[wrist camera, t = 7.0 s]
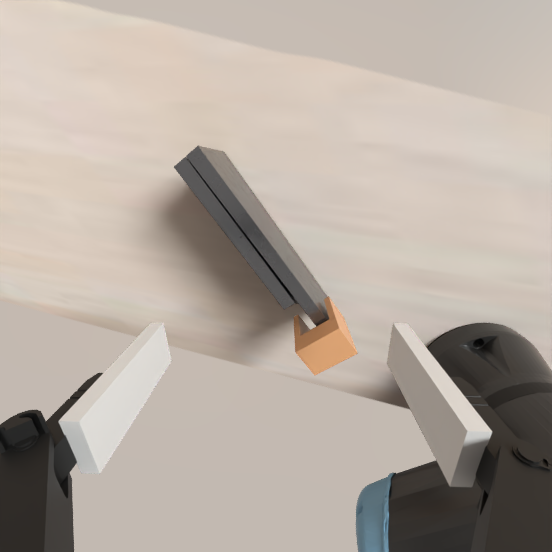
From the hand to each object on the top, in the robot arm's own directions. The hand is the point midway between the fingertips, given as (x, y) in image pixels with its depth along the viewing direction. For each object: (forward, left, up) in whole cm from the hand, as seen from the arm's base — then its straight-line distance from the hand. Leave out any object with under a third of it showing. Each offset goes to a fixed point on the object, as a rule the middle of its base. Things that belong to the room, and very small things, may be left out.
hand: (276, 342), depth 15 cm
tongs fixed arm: (+1, -1, -18) cm, 18 cm away
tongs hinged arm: (+5, -2, -18) cm, 18 cm away
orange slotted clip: (-6, +4, -13) cm, 15 cm away
